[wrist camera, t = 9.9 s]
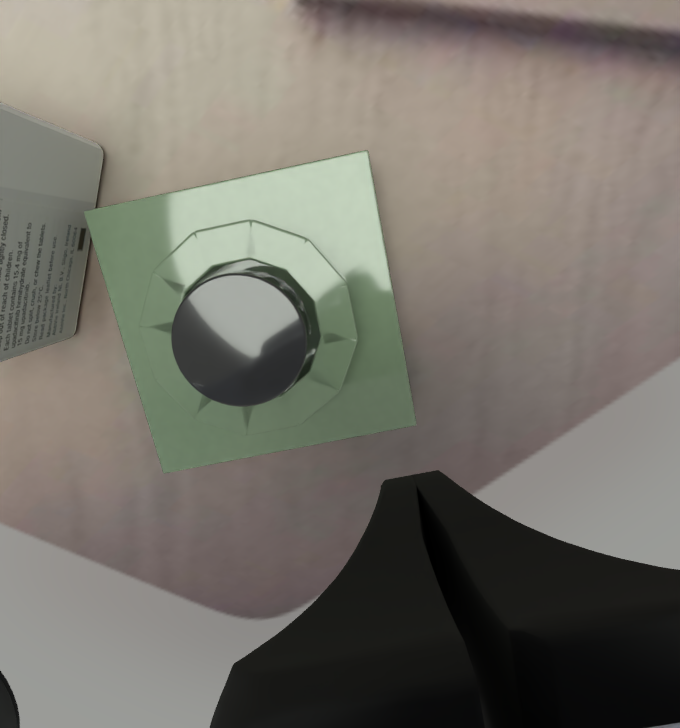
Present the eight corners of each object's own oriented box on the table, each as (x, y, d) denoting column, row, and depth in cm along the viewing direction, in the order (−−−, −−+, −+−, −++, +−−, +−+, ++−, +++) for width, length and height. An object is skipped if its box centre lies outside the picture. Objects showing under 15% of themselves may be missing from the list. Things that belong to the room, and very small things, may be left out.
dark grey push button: (322, 376, 17) (319, 393, 15) (207, 399, 17) (190, 419, 15) (296, 258, 16) (290, 260, 14) (176, 283, 16) (153, 288, 14)
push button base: (408, 405, 22) (425, 446, 17) (182, 448, 22) (143, 499, 18) (364, 161, 19) (371, 137, 15) (114, 215, 20) (49, 206, 15)
